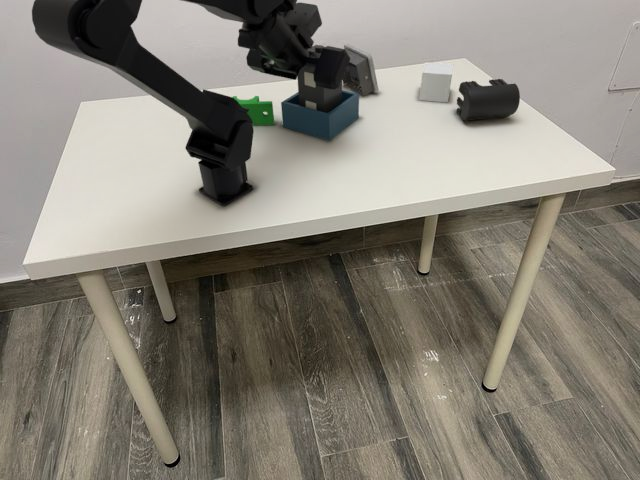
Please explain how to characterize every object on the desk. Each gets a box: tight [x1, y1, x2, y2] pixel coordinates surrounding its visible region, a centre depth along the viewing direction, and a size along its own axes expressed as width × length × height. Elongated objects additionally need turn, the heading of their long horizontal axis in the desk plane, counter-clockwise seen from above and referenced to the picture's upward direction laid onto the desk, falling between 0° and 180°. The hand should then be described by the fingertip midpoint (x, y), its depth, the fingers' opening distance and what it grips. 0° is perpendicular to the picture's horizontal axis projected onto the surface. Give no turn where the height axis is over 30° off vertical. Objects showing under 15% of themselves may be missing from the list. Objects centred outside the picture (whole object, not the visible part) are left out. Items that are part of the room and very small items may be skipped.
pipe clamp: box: [232, 95, 275, 126], centre depth 95 cm, size 11×4×5 cm, turn 89°
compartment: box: [280, 89, 360, 141], centre depth 94 cm, size 11×11×5 cm
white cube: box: [418, 61, 454, 103], centre depth 102 cm, size 6×6×6 cm
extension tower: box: [297, 44, 343, 113], centre depth 90 cm, size 6×6×14 cm
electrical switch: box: [342, 43, 380, 97], centre depth 104 cm, size 9×5×9 cm, turn 32°
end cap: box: [455, 78, 521, 121], centre depth 93 cm, size 10×7×7 cm
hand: (316, 82), depth 89 cm, fingers open, 9 cm apart
